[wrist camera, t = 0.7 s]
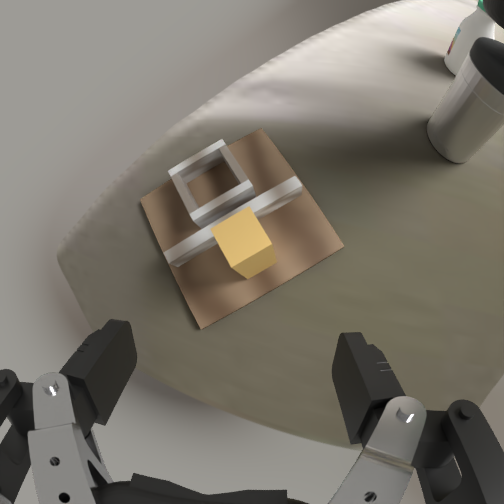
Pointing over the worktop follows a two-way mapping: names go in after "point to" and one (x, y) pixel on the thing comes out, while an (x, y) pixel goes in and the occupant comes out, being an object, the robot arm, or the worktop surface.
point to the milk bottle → (468, 37)
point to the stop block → (245, 243)
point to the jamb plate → (226, 205)
